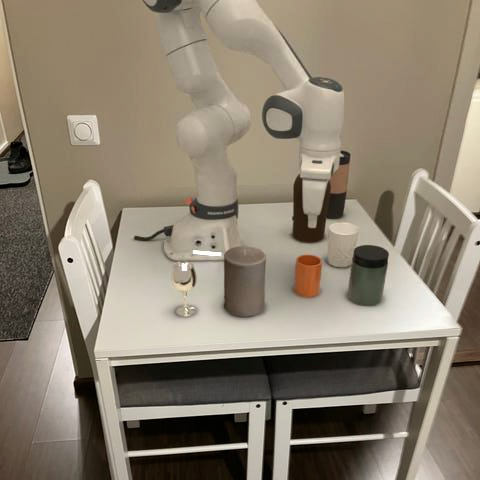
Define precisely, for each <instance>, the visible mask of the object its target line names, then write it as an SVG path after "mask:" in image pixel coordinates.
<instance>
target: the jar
mask: <svg viewBox="0 0 480 480" xmlns="http://www.w3.org/2000/svg"><path fill="white" fill-rule="evenodd" d="M388 265H389V261H388V262H387V264H386V265H385V266H382V267H378V268H370V267H364V266H361V265H359V264H357V263H355V262H354V260H353V258H352V264H351V265H350V272H349V280H348V288H347V298H348V300H349V301H350V302H352V303H354V304H356V305H360V306H366V307H367V306H368V307H371V306H376V305H379V304H380V303H381V302H382V301H383V295H384V289H385V284H386V278H387V271H388Z"/></svg>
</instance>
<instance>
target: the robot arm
mask: <svg viewBox="0 0 480 480" xmlns="http://www.w3.org/2000/svg"><path fill="white" fill-rule="evenodd" d="M142 2H143V4H145V6H146V7H147V8H148V10H150V11H152V12H153V13H155V23H156V29H157V33H158V37H159V41H160V44H161V45H160V46H161V48H162V50H163V54H164V56H165V59H166V63H167V64H168V67H169V70H170V72H171V75H172V78H173V80H174V83H175V85H176V88H177V89H178V90H179V91H180V92H181V93H182V94H184V95H186V96H187V97H188V98H189V99H190V101H192V103H193V104H194V106H195V107H196V109H194V110H192V111H190V112H188V113H187V114H186V115H185V116H184V117H182V118H181V119H180V120H179V121H178V123H177V125H176V128H175V138H176V142H177V145H178V146H179V148H180V149H181V151H182V152H184V153H185V154H186V155H187V156H188V158H189V159H190V161H191V165H192V166H193V171H194V172H193V173H194V178H195V195H196V198H194V199H193V198H192V197H187V198H186V199H185V203H186V204H187V206H188V207H189V212H188V213H187V214H185V215H184V216H183V217H182V218H180V219H179V220H178V221H176V222H175V223H174V224H171V225H167V226H163V228H162V229H159V230H158V231H156V232H155V233H153V234H152V235H150V236H139V235H133V239H134V240H139V241H151V240H153V239H155V238H156V237H158V236H159V235H161V234H163V235H165V237H167V238H166V239H165V240H164V241H163V252H164V254H165V256H166V257H167V258H168V259H170V260H172V261H176V262H180V261H188V262H191V261H192V262H195V261H196V262H197V261H224V254H225V252H226V251H227V250H229V249H231V248H234V247H239V246H243V242H242V240H241V236H240V230H239V224H238V219H239V212H240V211H239V207H240V205H239V199H238V198H237V196H238V195H237V184H238V183H237V182H238V180H237V178H238V176H237V171H236V169H235V167H234V166H233V165H231V163H230V162H229V158H228V153H227V152H228V151H227V150H228V147H229V146H230V145H232V144H235V143H236V142H239V141H241V139H242V138H243V137H244V136H245V135H246V134H247V133H248V132H249V130H250V128H251V125H252V115H251V112H250V109H249V108H248V107H247V105H246V104H244V102H242V101H241V100H239V99H238V98H237V97H236V96H235V94H234V93H233V92H232V90H231V89H230V87H229V86H228V85H227V83H226V81H225V80H224V78H223V76H222V73H220V70H219V68H218V64H217V63H216V60H215V57H214V55H213V51H212V49H211V47H210V43H209V41H208V37H207V35H206V33H205V30H204V27H203V24H202V21H201V13H202V15H203V17H204V19H205V20H206V23H207V24H208V26H209V29H210V30H211V32H212V34H213V35H214V36H215V38H216V39H217V40H218V41H219V42H220V43H221V45H222V46H224V47H225V48H227V49H229V50H232V51H235V52H239V53H243V54H247V55H250V56H252V57H255V58H258V59H260V60H261V61H262V62H264V63H266V64H267V65H268V66H269V68H270V69H271V70H272V72H273V74H274V75H275V76H276V78H277V79H278V81H279V82H280V84H281V85H282V87H283V88H284V91H280V92H277V93H274V94H273V95H270V96H269V97H267V99H266V100H265V102H264V104H263V106H262V111H261V120H262V125H263V127H264V129H265V131H266V132H267V134H268V135H270V136H271V137H273V138H274V139H278V140H291V139H296V140H299V152H298V153H299V154H298V168H299V174H300V177H301V178H303V181H302V194H303V211H304V214H308V227H309V228H315V227H316V224H317V215H319V214H320V213H321V209H322V205H323V200H324V196H325V191H326V187H327V183H328V181H329V180H330V179H331V176H332V174H333V173H334V172H335V171H336V170H337V169H338V168H339V161H340V151H341V150H342V140H341V133H342V130H343V127H344V121H345V108H346V107H345V105H346V103H345V101H346V99H345V92H344V91H345V90H344V87H343V86H342V85H341V83H340V82H339V81H337V80H334V79H332V78H329V77H322V76H314V77H313V76H312V75H311V74H310V72H309V71H308V70H307V68H306V67H305V65H304V64H303V62H302V60H301V59H300V57H299V56H298V54H297V53H296V51H295V50H294V48H293V47H292V46H291V43H289V41H288V40H287V38H286V37H285V36H284V35H283V33H282V32H281V31H280V29H279V28H278V27H277V26H276V25H275V24H274V23H273V22H272V20H271V19H270V18H269V16H267V14H266V13H265V12H264V10H263V9H262V7H261V6H260V4H259V2H258V1H257V0H142Z"/></svg>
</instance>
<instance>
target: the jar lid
mask: <svg viewBox="0 0 480 480" xmlns="http://www.w3.org/2000/svg"><path fill="white" fill-rule="evenodd" d="M389 256H390V252H389V251H388V250H387V249H386V248H384V247H382V246H378V245H374V244H362V245H358V246H356V247H355V249H354V254H353V260H354V262H355V263H357V264H359V265H361V266H364V267H370V268H378V267H382V266H385V265H386V264H387V262H388V263H389Z"/></svg>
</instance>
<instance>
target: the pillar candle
mask: <svg viewBox="0 0 480 480" xmlns="http://www.w3.org/2000/svg"><path fill="white" fill-rule="evenodd" d="M266 267H267V254H266V253H265V251H264V250H263V249H262V248H259V247H258V248H257V247H256V246H255V247H254V246H248V245H242V246H239V247H234V248H231V249H229V250H227V251H226V252H225V254H224V260H223V284H224V286H223V290H224V291H223V292H224V293H223V294H224V296H223V297H224V298H223V299H224V304H223V309H224V310H225V311H226V312H227V313H228V314H229V315H233V316H235V317H241V318H247V317H249V318H250V317H254V316H256V315H259V314H261V313H262V312H263V310H264V309H265V295H266V270H267V269H266Z"/></svg>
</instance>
